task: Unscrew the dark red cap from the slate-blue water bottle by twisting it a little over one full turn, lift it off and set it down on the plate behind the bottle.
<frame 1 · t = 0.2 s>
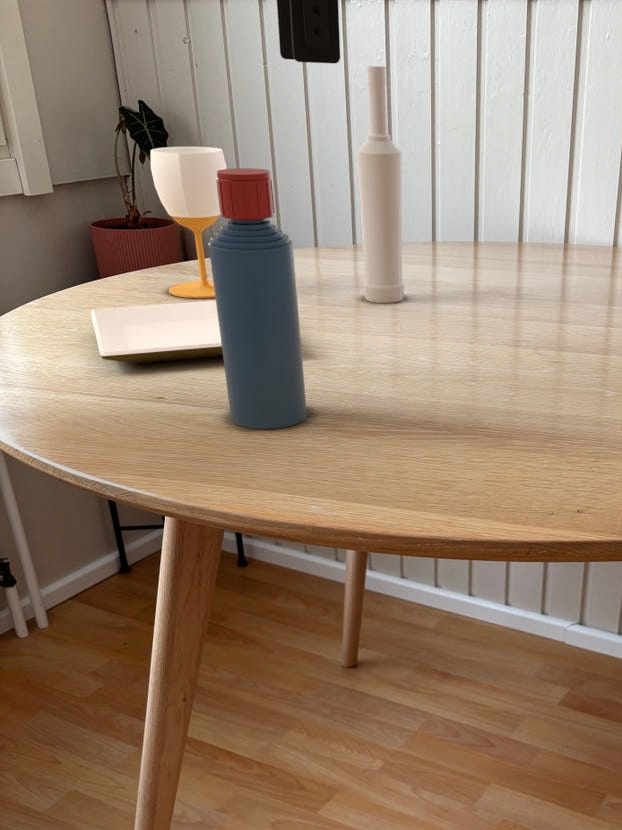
hand: (308, 60, 69), 26 cm above the table, tool pointing down, fingers open, 9 cm apart
bottle: (384, 300, 118), on the table
cap: (243, 177, 71), point 19 cm above the table, screwed on, not yet turned
plate: (191, 344, 100), on the table
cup: (205, 292, 120), on the table
water bottle: (269, 416, 81), on the table
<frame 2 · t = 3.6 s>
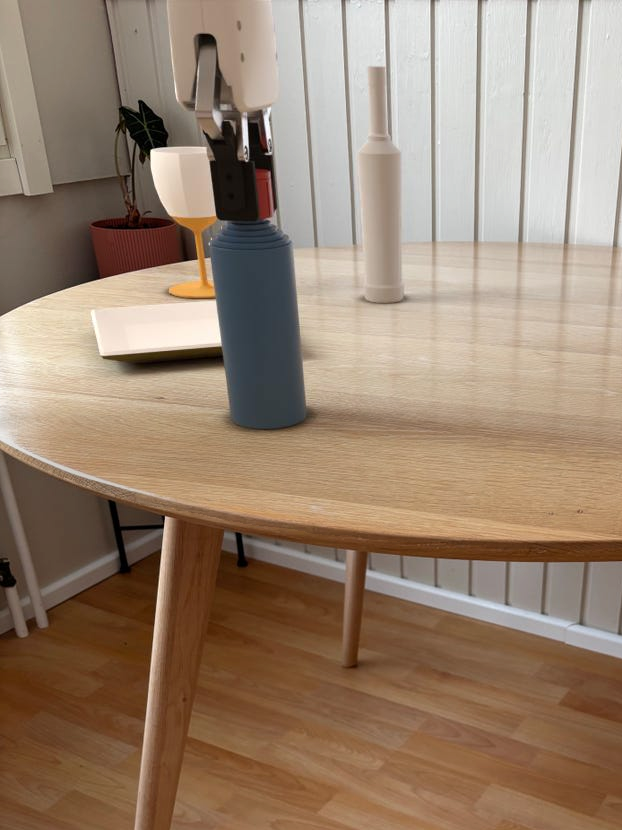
hand: (247, 212, 72), 16 cm above the table, tool pointing down, fingers closed on cap, 3 cm apart
cap: (243, 177, 71), point 19 cm above the table, screwed on, not yet turned, touching gripper
everything else where it was.
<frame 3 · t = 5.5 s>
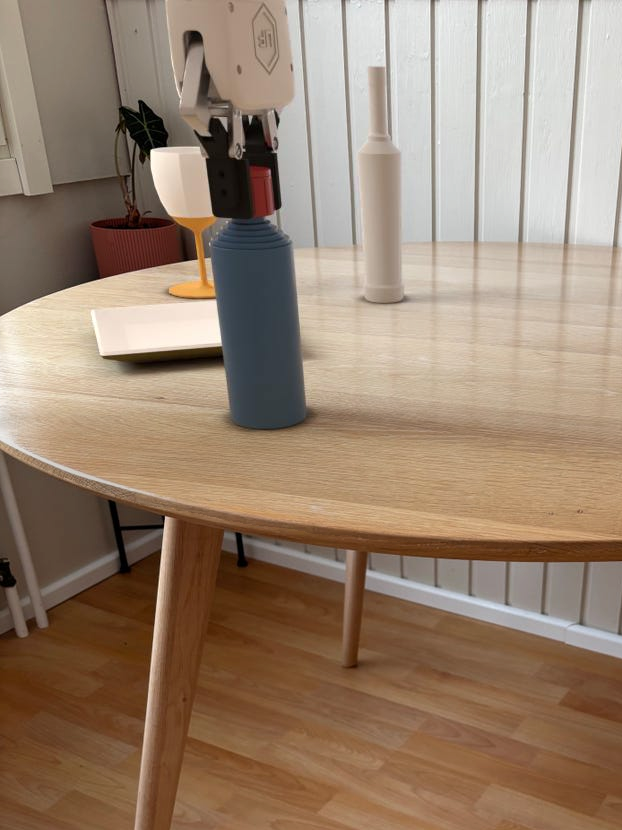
hand: (248, 210, 72), 16 cm above the table, tool pointing down, fingers closed on cap, 3 cm apart
cap: (244, 174, 71), point 19 cm above the table, turned 170° so far, risen 0.2 cm, still on its thread, touching gripper
everything else where it was.
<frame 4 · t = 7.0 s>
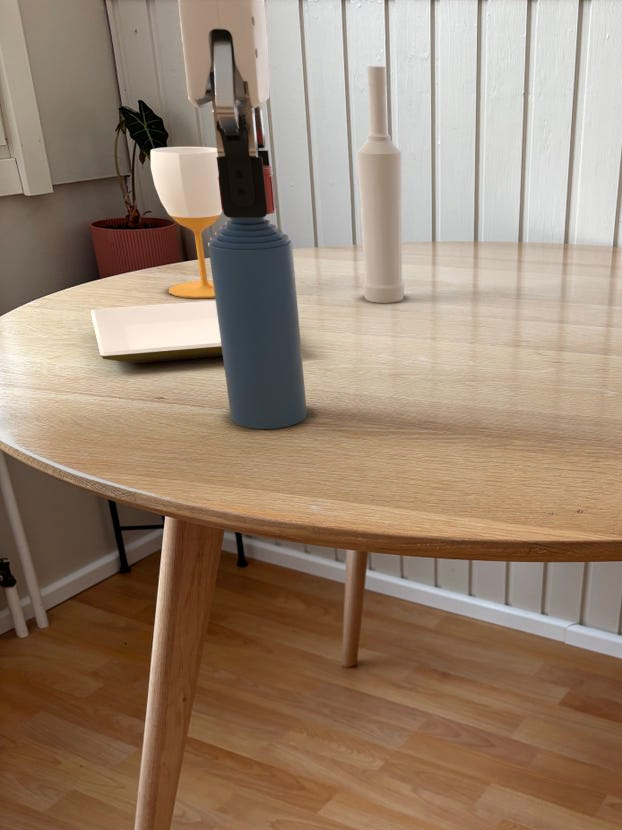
hand: (249, 209, 72), 16 cm above the table, tool pointing down, fingers closed on cap, 3 cm apart
cap: (245, 172, 71), point 19 cm above the table, off its thread, touching gripper
everything else where it was.
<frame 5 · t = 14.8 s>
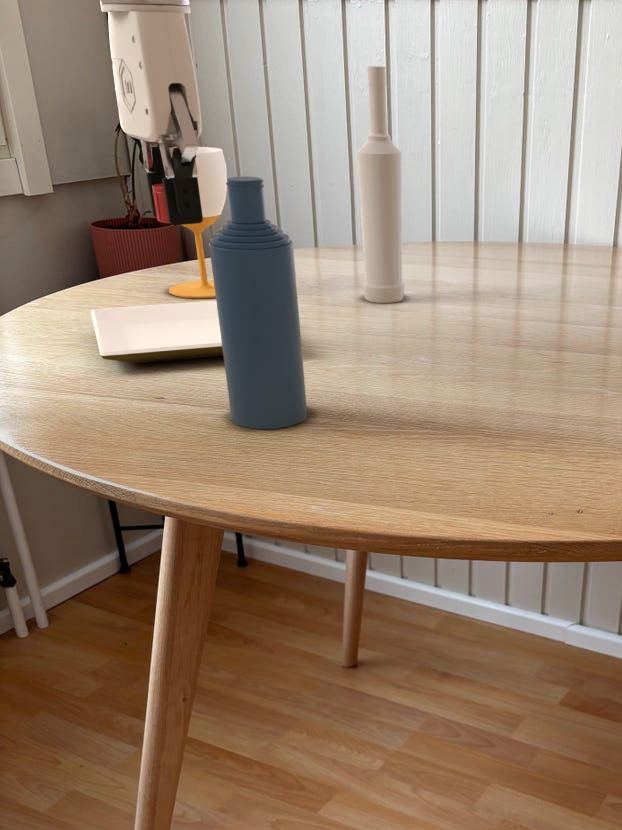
hand: (177, 218, 92), 12 cm above the table, tool pointing down, fingers closed on cap, 3 cm apart
cap: (174, 189, 90), point 15 cm above the table, off its thread, touching gripper
everything else where it was.
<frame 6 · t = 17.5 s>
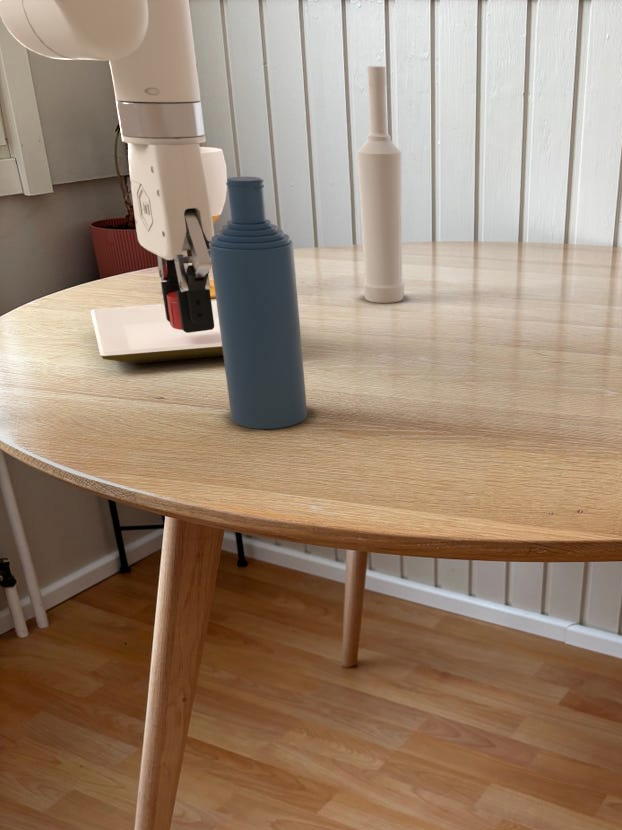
hand: (190, 323, 97), 2 cm above the table, tool pointing down, fingers closed on cap, 3 cm apart
cap: (187, 298, 96), point 5 cm above the table, off its thread, touching gripper
everything else where it was.
when the fingers open (4 cm above the table, at t = 26.0 s): cap drops 2 cm, resting on plate.
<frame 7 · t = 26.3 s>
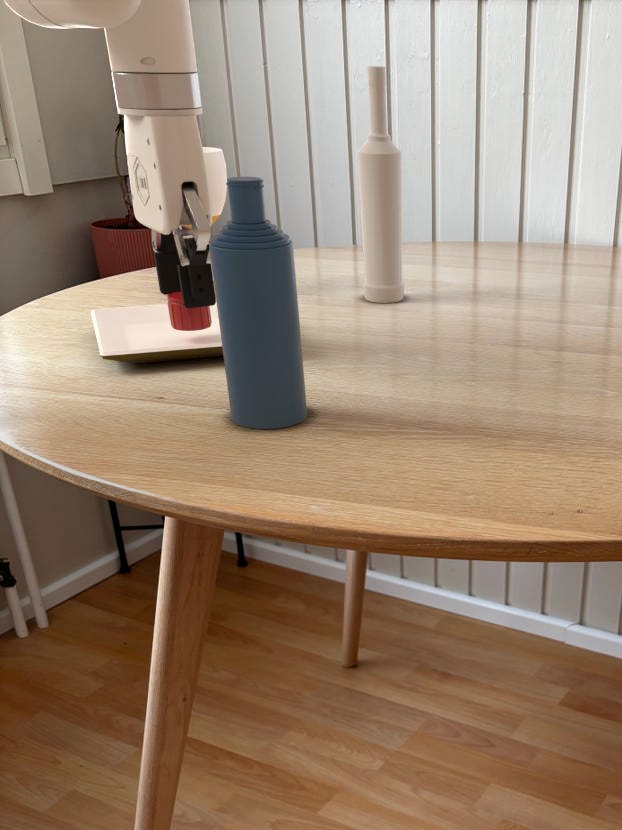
hand: (187, 297, 96), 5 cm above the table, tool pointing down, fingers open, 6 cm apart
cap: (187, 299, 96), point 5 cm above the table, off its thread, touching plate
plate: (191, 344, 100), on the table, touching cap
everything else where it was.
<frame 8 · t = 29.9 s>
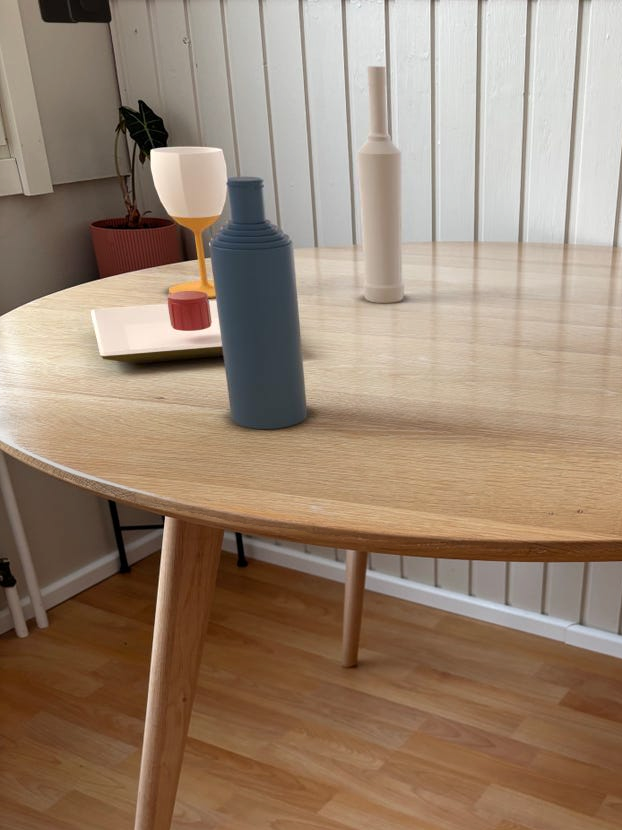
hand: (76, 22, 81), 28 cm above the table, tool pointing down, fingers open, 9 cm apart
nothing on the table moved.
at the end: cap came off its thread; cap inside the target area on the plate (1.8 cm from its centre), point 5.0 cm above the plate's base; the gripper is holding nothing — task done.
